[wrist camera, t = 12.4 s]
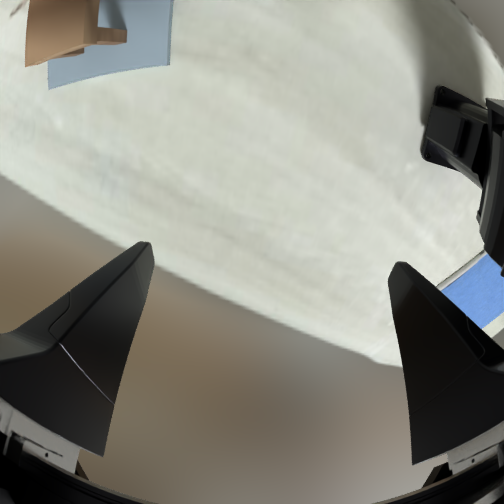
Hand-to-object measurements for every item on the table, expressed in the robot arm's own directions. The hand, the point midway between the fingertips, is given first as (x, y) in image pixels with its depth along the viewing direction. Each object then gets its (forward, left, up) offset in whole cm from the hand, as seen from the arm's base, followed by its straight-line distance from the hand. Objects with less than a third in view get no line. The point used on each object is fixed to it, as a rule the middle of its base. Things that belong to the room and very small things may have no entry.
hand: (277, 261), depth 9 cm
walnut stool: (+13, -12, -11) cm, 21 cm away
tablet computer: (-32, +14, -13) cm, 37 cm away
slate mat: (+13, -12, -12) cm, 21 cm away
